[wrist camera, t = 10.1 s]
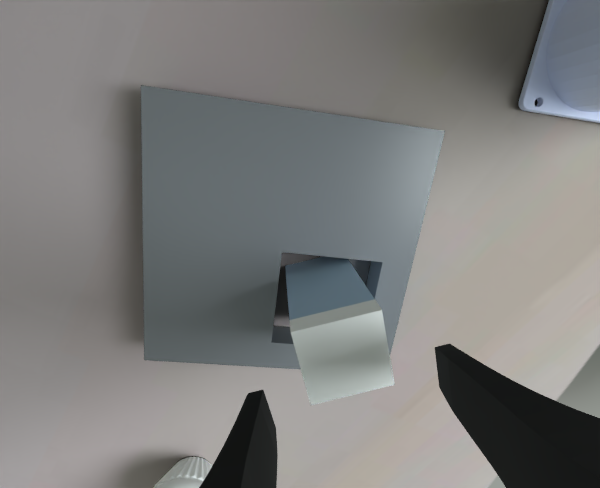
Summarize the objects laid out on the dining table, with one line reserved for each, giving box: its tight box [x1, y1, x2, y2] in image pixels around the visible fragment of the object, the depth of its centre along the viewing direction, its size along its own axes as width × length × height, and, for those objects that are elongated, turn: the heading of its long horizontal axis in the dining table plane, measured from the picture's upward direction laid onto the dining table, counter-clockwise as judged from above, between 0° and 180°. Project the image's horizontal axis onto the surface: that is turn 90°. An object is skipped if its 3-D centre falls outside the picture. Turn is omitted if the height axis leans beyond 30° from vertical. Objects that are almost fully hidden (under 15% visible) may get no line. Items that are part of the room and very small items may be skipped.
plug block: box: [285, 256, 395, 405], centre depth 18 cm, size 4×4×8 cm
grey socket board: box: [141, 85, 445, 369], centre depth 19 cm, size 16×16×2 cm
